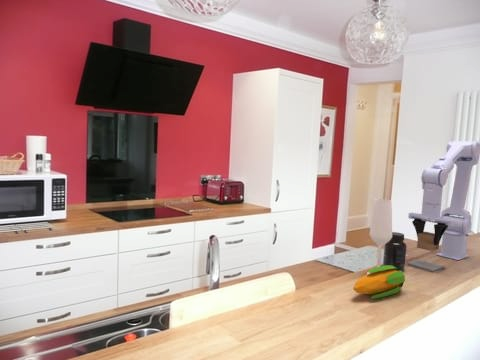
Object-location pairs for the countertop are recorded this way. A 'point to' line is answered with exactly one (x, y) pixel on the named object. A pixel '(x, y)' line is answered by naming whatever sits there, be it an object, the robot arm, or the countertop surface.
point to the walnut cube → (426, 241)
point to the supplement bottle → (395, 251)
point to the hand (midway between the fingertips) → (428, 242)
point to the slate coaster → (426, 265)
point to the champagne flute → (381, 225)
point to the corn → (381, 281)
